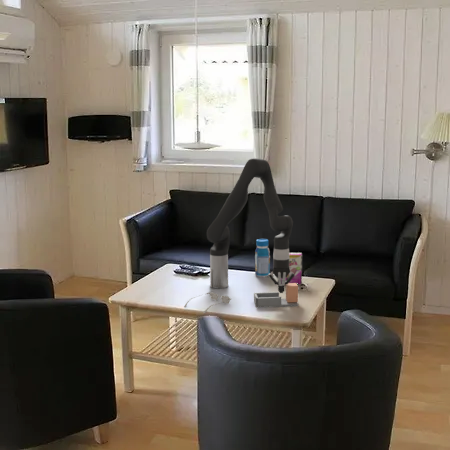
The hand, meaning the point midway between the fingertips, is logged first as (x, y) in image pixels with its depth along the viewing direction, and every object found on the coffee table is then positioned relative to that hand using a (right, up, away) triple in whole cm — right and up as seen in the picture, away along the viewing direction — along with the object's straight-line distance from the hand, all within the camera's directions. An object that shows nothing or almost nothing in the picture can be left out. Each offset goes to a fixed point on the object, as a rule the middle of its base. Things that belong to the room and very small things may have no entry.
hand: (281, 292), depth 320 cm
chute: (-3, -6, +1) cm, 6 cm away
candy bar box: (+8, +1, +34) cm, 35 cm away
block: (+5, -4, +1) cm, 7 cm away
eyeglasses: (-35, -7, 0) cm, 36 cm away
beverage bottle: (-6, +4, +51) cm, 52 cm away
